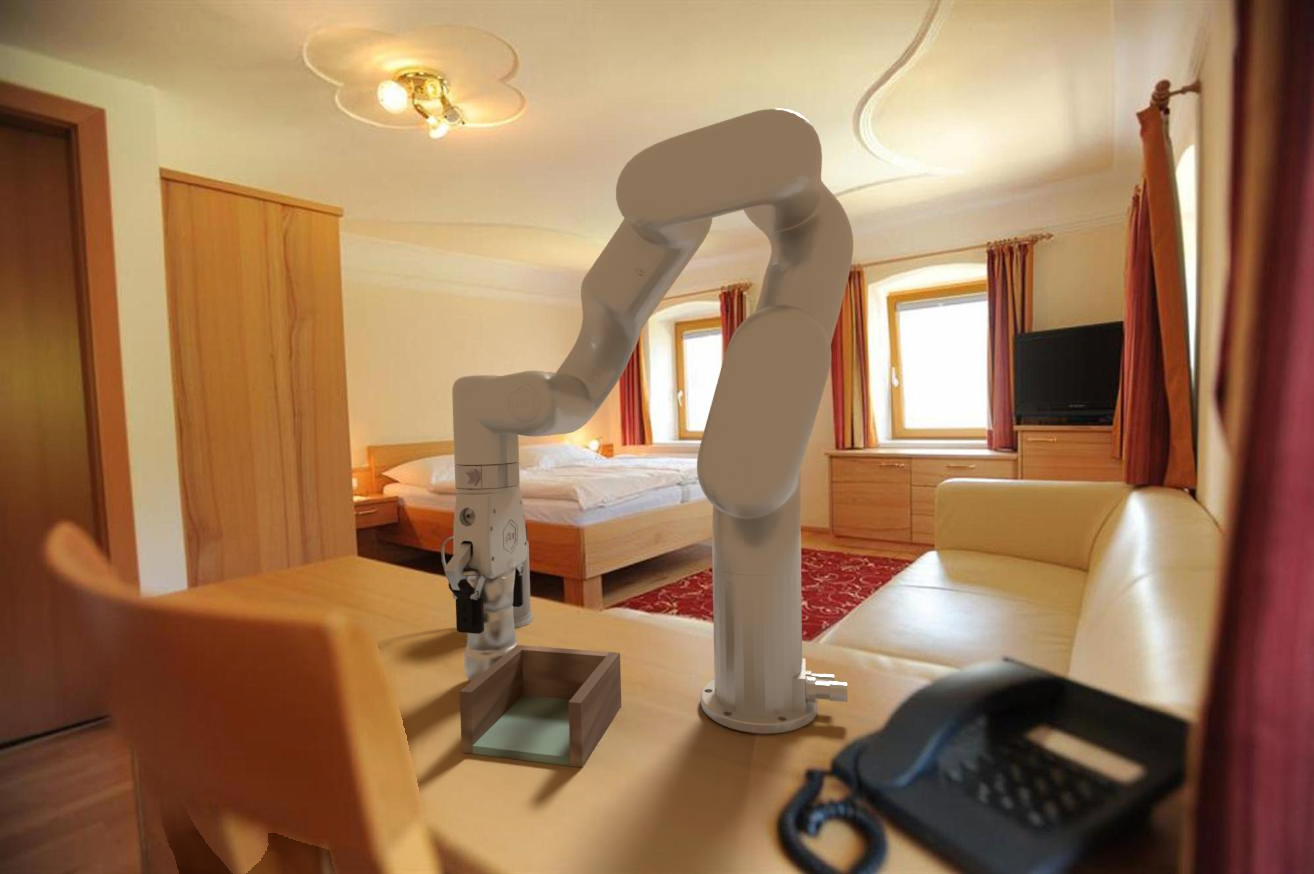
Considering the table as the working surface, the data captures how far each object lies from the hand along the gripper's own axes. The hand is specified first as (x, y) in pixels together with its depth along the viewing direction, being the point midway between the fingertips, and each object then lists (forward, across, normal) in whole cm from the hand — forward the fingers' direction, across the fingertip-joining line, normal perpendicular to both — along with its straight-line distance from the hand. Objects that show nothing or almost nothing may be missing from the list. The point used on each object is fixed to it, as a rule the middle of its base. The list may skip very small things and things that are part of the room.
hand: (491, 618), depth 74 cm
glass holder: (+8, +20, +12) cm, 25 cm away
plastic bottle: (+8, 0, 0) cm, 8 cm away
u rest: (+8, -9, -11) cm, 16 cm away
